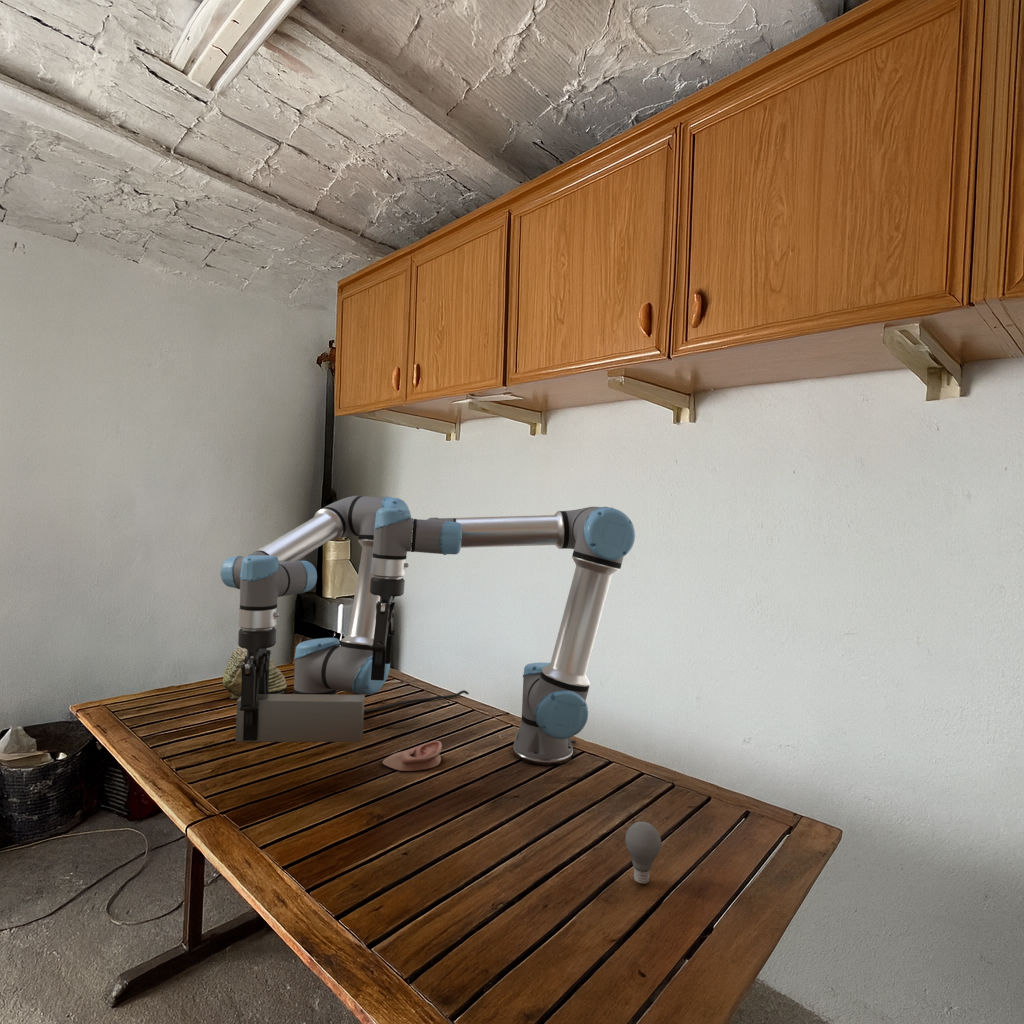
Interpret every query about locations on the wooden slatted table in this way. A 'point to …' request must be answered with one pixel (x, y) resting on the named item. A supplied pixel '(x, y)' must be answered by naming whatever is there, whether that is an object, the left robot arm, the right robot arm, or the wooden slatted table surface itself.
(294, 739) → the bar
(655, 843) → the light bulb
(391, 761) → the anatomical model
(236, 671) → the fossil
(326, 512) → the left robot arm
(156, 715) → the wooden slatted table surface
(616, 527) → the right robot arm
